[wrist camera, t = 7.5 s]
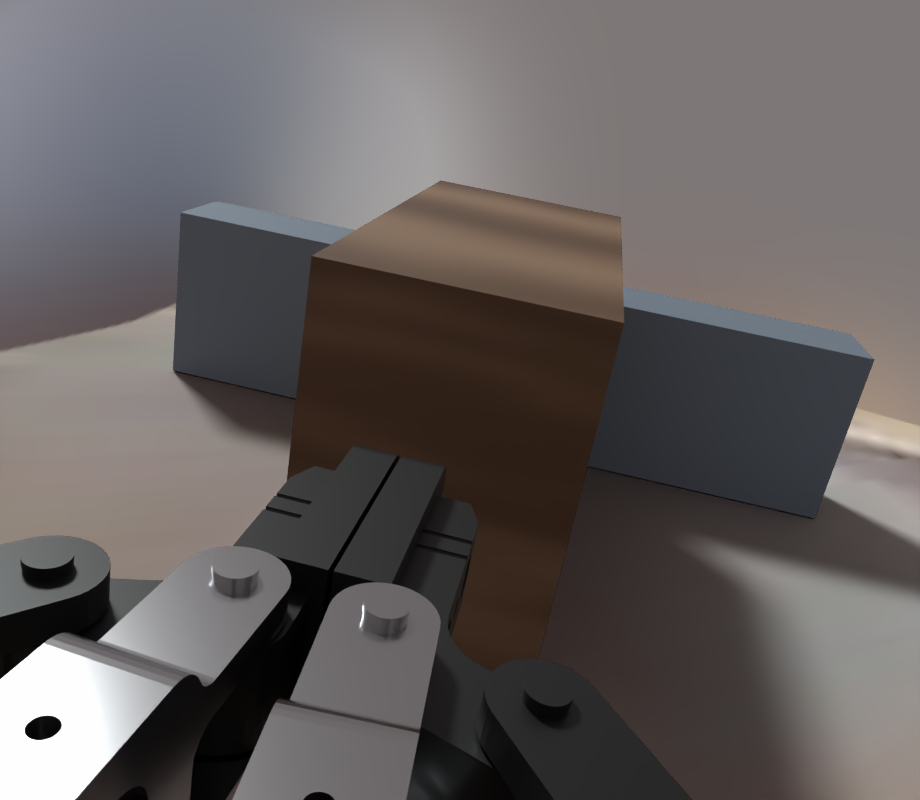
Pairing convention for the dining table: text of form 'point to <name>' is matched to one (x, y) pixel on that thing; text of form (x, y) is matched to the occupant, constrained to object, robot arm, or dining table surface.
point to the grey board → (631, 383)
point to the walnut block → (471, 377)
